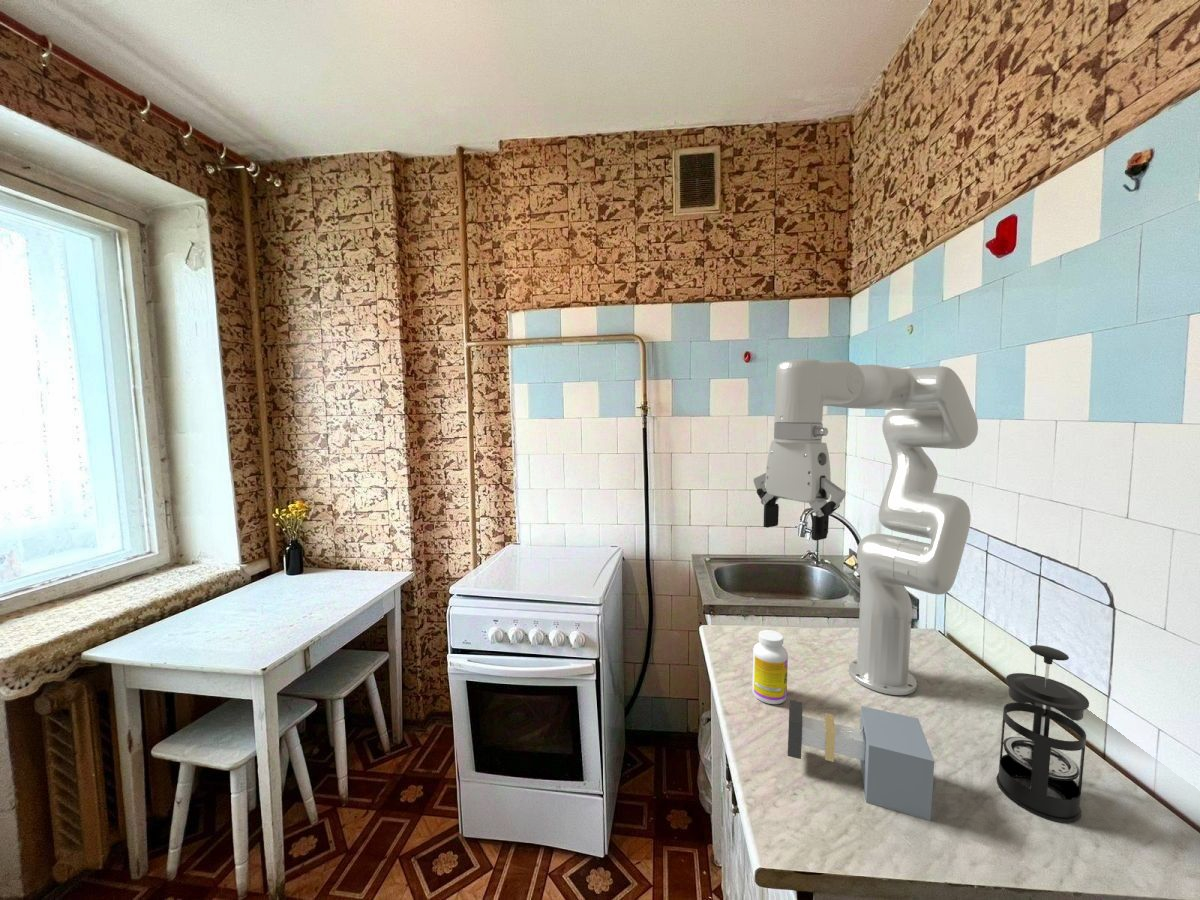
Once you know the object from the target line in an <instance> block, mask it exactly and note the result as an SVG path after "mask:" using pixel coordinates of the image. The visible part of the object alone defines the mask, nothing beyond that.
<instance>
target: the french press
mask: <svg viewBox="0 0 1200 900" xmlns="http://www.w3.org/2000/svg"><path fill="white" fill-rule="evenodd" d="M1029 649H1030V651H1031V652H1032V653H1034V654H1035V655H1038V656H1041V657H1043V663H1045V672H1044V673H1045V674H1044V676H1041V675H1038V674H1034V673H1033V674H1032V673H1023V672H1017V673H1016V672H1015V673H1014V672H1013V673H1010V674H1008V675H1007V676H1006V677H1005V682H1006V683H1005V684H1006V685H1007V686H1008V695H1009V697H1010V698H1011V699H1012V700H1013V701H1014V702H1009V703H1006V704H1005V705H1004V706H1003V708H1002V709H1003V711H1002V712H1003V713H1002V723H1001V737H1000V738H1001V739H1000V748H999V749H1000V751H999V752H1000V753H999V761H998V762H999V763H998V764H999V765H998V773H997V775H996V777H995V779H996V784H997V786H998V788H999V789H1000V791H1001V793H1003V794H1004V796H1006V797H1007V798H1008V799H1009V800H1011V802H1013V803H1015V805H1017V806H1018V807H1020V808H1022V809H1023V810H1025V811H1027V812H1029V813H1032V814H1034V815H1035V816H1037V817H1040V818H1043V819H1046V820H1049V821H1053V822H1057V823H1061V824H1063V823H1066V824H1070V823H1071V824H1072V823H1076V822H1078V821H1079V820H1080V819H1081V817H1082V808H1081V796H1082V786H1083V785H1082V784H1083V775H1084V774H1083V773H1084V764H1085V756H1086V755H1085V752H1086V743H1087V734H1086V731H1085V730H1084V728H1082V726H1081V725H1079V723H1076V722H1075V721H1077V722H1078V721H1079V722H1080V721H1081V720H1082V719H1084V713H1085V710H1087V709H1089V707H1090V701H1089V699H1088V698H1087V697H1086V696H1085V695H1084V694H1082V692H1080V691H1078V690H1077V689H1075V688H1074V687H1071V686H1070V685H1067V684H1065V683H1063V682H1060V681H1058V680H1054V679H1051V678H1049V675H1050V666H1051V665H1053V661H1068V660H1069V659H1070V657H1069V655H1068V654H1067V653H1065V652H1063V651H1062V650H1059V649H1057V648H1054V647H1050V646H1048V645H1041V644H1040V645H1039V644H1031V645H1030V646H1029ZM1033 703H1034V704H1033ZM1052 708H1053V709H1055V710H1057V711H1058V712H1057V711H1055V710H1052ZM1010 712H1025V713H1031V714H1033V719H1032V723H1033V724H1032V730H1031V729H1028V728H1026V727H1024V726H1023V725H1021V724H1020V723H1018V722H1017V721H1016V720H1014V719H1013V718H1012V717H1010V716H1009V715H1008V713H1010ZM1059 712H1061V713H1062V714H1061V713H1059ZM1051 720H1053V721H1055V722H1057V723H1059V724H1061V725H1064V726H1065V727H1067V728H1068V729H1070V730H1071V731H1073V732H1074V733H1076V734H1077V735H1078V736H1079V737H1080V738H1081V739H1080V740H1073V741H1072V740H1061V739H1057V738H1053V737H1049V735H1050V734H1049V733H1050V723H1051ZM1005 723H1006V725H1007V726H1008V727H1010V728H1011V730H1012V731H1014V732H1016V733H1017V734H1019V735H1020V736H1010V737H1007V738H1005V728H1006V727H1005V726H1006V725H1005ZM1004 738H1005V739H1004ZM1003 750H1004V752H1005V753H1006V754H1004V755H1003ZM1062 751H1065V752H1066V751H1067V752H1068V751H1071V752H1076V751H1081V752H1080V753H1081V754H1080V765H1078V764H1077V762H1075V761H1074V759H1072V758H1071V757H1070V756H1069V755H1067V754H1066V753H1064V752H1062ZM1014 777H1017V778H1018V777H1021V778H1026V779H1030V787H1028V786H1027V785H1024V784H1022V783H1021V782H1019V781H1018V780H1016V779H1015V778H1014ZM1077 778H1078V782H1076V781H1075V780H1076V779H1077ZM1048 787H1049V788H1050V789H1052V790H1053V791H1054V792H1056V793H1058V794H1059V795H1060V796H1062V798H1061V797H1060V798H1059V797H1053V796H1051V795H1048Z"/></svg>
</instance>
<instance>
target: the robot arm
mask: <svg viewBox="0 0 1200 900" xmlns="http://www.w3.org/2000/svg"><path fill="white" fill-rule="evenodd" d="M774 389H775V394H774V397H775V398H774V422H773V423H774V424H773V426H774V428H773V440H771V441H770V445H769V449H768V455H767V460H766V467H765V468H766V469H765V473H763V474H760V475H759V476H756V477H754V478H753V483H754V486H755V489H756V494H757V495H758V497H759V499H760V504H761V505H763V527H764V528H768V529H769V528H772V527H777V526H778V525H779V515H780V514H779V511H780V510H779V509H780V507H779V503H777V502H778V500H779V499H784V500H788V501H794V502H800V503H804V504H805V503H807V504H809V506H810V507H811V509H812V510H813V513H815V515H812V518H811V537H810V538H811V539H812V540H813V541H821V540H826V539H827V538H828V534H829V522H830V521H829V520H830V516H832V515H833V513H834V512H835V511H836V510H838V509H839V508H840V506H841V503H842V502H843V500H844V498H845V497H846V491H844V490H843V489H842V488H841V487H839V486H838V485H836V484H835V483H833V482H832V481H831V462H830V455H829V449H828V444H827V443H826V442H822V440H823V437H827V436H828V434H829V429H828V428H827V427H824V425H823V415H824V414H823V412H824V407H834V408H835V407H837V408H845V409H846V408H847V409H856V410H857V409H859V410H861V409H862V410H863V409H864V410H890V411H889V412H887V413H886V414H885V415H884V417H883V420H882V427H881V428H882V434H883V437H884V440H885V444H886V445H887V448H888V452H889V457H890V459H891V469H890V474H889V477H888V480H887V483H886V487H885V488H884V489H885V490H884V493H883V496H882V499H881V503H880V506H879V510H878V521H879V523H880V524H881V525H882V526H883V527H884V528H886V529H888V530H890V531H892V532H893V531H894V532H897V533H900V534H901V533H902V534H907V535H911V536H915V537H920V538H924V539H925V538H926V539H931V541H930V543H927V542H923V541H918V540H914V539H909V538H907V537H902V536H901V537H899V536H895V535H892V534H884V533H873V534H868V535H866V536H864V537H863V538H861V540H860V541H859V543H858V545H857V548H856V560H857V566H858V573H859V581H860V582H859V583H860V584H859V585H860V587H859V588H860V591H859V592H860V594H859V614H858V615H859V617H858V639H857V658H856V659H854V660H852V661H851V662H850V663H849V664H848V672H849V675H850V676H851V677H852V679H854V680H855V681H856V682H857V683H859V684H860V685H861V686H863V687H865V688H867V689H870V690H872V691H874V692H878V693H882V694H885V695H891V696H907V695H911V694H913V693H914V692H915V691H917V687H918V686H917V685H918V684H917V680H916V678H915V677H914V676H913V674H911V673H910V672H909V667H910V666H909V665H910V651H911V635H912V615H913V605H912V603H913V602H912V600H911V597H910V594H909V592H908V591H907V589H906V588H910V589H914V590H918V591H920V592H925V593H927V594H932V595H944V594H947V593H948V592H949V591H951V589H952V587H953V585H954V584H955V581H956V578H957V575H958V572H959V569H960V568H959V567H960V564H961V561H962V557H963V554H964V550H965V546H966V542H967V539H968V536H969V532H970V527H971V511H970V508H969V505H968V504H967V502H966V501H965V500H963V499H962V498H961V497H958V496H957V495H956V496H955V495H953V494H947V493H939V492H938V493H937V492H934V491H935V486H936V483H937V480H938V470H937V467H936V466H935V463H934V462H933V461H932V459H931V458H930V457H929V456H928V454H927V453H926V452H925V451H924V449H923V448H931V449H948V450H950V449H951V450H959V449H960V450H961V449H965V448H968V447H970V446H971V445H972V444H973V443H974V442H975V441H976V439H977V436H978V432H979V424H978V419H977V415H976V412H975V410H974V407H973V405H972V403H971V399H970V397H969V394H968V392H967V390H966V388H965V385H964V383H963V381H962V380H961V378H960V376H959V375H958V374H957V373H956V371H955V370H953V369H952V368H950V367H948V366H943V365H940V366H929V367H928V366H926V367H925V366H924V367H914V368H913V367H911V368H901V367H893V366H886V365H880V364H879V365H878V364H858V365H857V364H856V363H855V362H852V361H850V360H843V359H842V360H841V359H838V360H828V361H821V360H818V359H813V358H797V359H795V358H793V359H787V360H783V361H781V362H780V363H779V364H778V365H777V366H776V369H775V388H774ZM828 500H829V501H828Z"/></svg>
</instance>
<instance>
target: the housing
mask: <svg viewBox="0 0 1200 900" xmlns="http://www.w3.org/2000/svg"><path fill="white" fill-rule="evenodd" d="M860 707H861V709H860V729H859V730H864V731H865V736H866V749H865V761H863V760H860V759H858V760H859V765H860V771H861V772H860V773H861V779H862V785H863V790H864V791H863V792H864V797H865V802H866V803H868V804H871V805H875V806H878V807H881V808H885V809H889V810H892V811H894V812H898V813H902V814H906V815H909V816H913V817H915V818H916V817H917V818H920V819H923V820H926V821H930V822H931V818H932V804H933V802H932V801H933V787H934V771H935V759H934V757H933V754H932V751H931V749H930V746H929V743H928V741H927V738H926V736H925V732H924V730H923V728H922V727H923V726H922V725H921V722H920V720H919V717H913V716H908V715H904V714H900V713H894V712H891V711H887V710H881V709H877V708H872V707H868V706H863V705H861V706H860Z"/></svg>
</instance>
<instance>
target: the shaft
mask: <svg viewBox="0 0 1200 900" xmlns="http://www.w3.org/2000/svg"><path fill="white" fill-rule="evenodd" d="M788 707H789V708H788V709H789V711H788V732H787V733H788V737H787V756H788V757H791V758H794V759H799V760H802V746H807V747H809V748H810V747H811V748H812V749H813V748H814V749H817V750H821V751H824V758H825V761H828V762H832V763H834V762H835V761H834V760H835V754H837V755H840V756H845V757H849V758H852V759H855V760H856V759H857V760H859V759H860V760H863V761H865V749H866V736H865V731H864V730H860V729H858V728H855V727H851V726H846V725H842V724H838V723H835V720H834V719H835V718H834V714H831V713H827V712H824V713H825V714H824V720H821V719H817V718H814V717H813V718H812V717H808V716H803V702H802V701H797V700H794V699H789V706H788Z"/></svg>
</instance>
